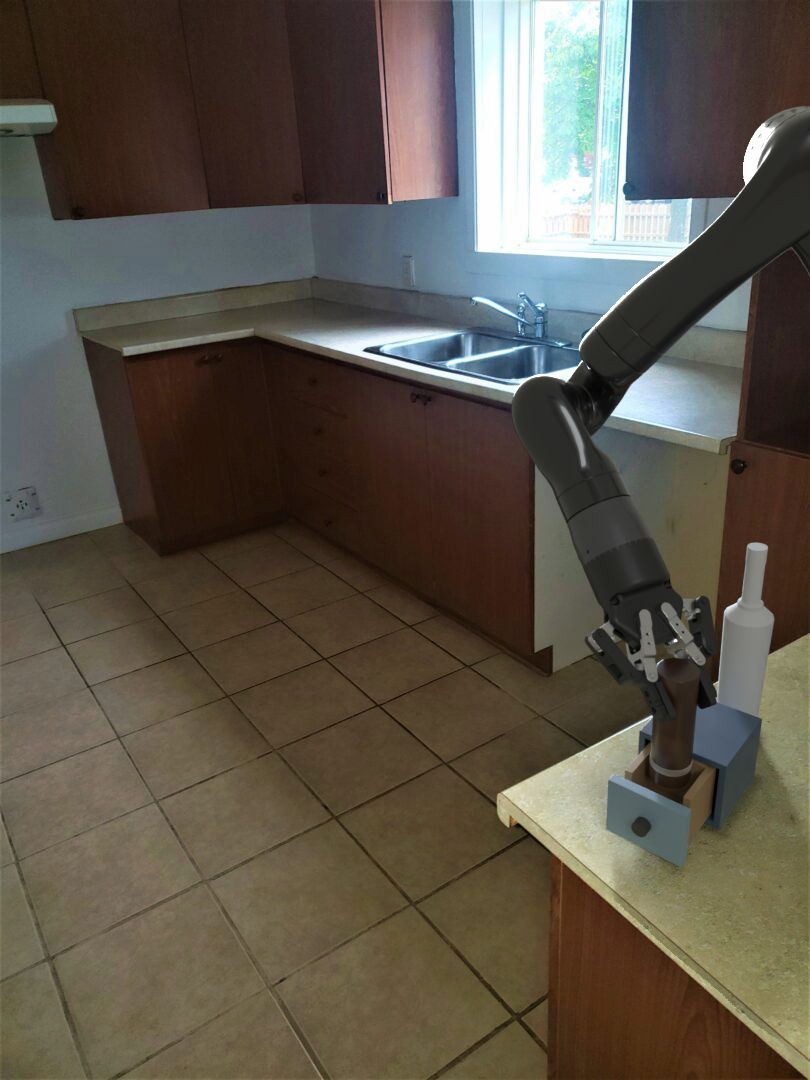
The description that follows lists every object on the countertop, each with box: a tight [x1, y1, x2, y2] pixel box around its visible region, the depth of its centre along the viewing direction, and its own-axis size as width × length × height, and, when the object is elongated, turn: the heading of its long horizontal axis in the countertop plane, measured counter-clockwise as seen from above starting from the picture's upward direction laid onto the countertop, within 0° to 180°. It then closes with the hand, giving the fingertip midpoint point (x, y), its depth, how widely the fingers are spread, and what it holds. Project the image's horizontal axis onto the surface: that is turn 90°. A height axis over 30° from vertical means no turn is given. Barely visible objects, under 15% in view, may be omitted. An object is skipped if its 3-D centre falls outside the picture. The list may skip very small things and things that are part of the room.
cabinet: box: [637, 702, 763, 831], centre depth 89 cm, size 9×9×8 cm
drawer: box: [605, 742, 716, 868], centre depth 83 cm, size 10×8×7 cm
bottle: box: [716, 542, 775, 718], centre depth 92 cm, size 5×5×25 cm
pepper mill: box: [649, 657, 700, 789], centre depth 80 cm, size 4×4×13 cm
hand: (689, 713), depth 77 cm, fingers closed on pepper mill, 4 cm apart
